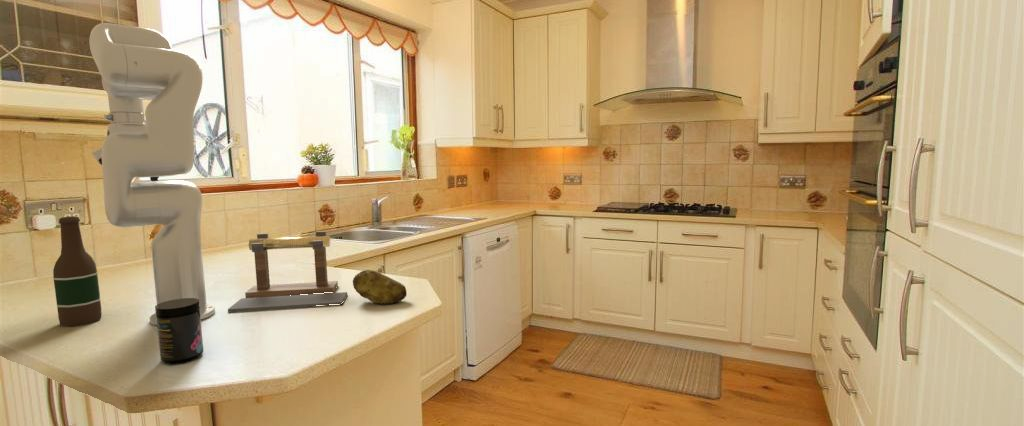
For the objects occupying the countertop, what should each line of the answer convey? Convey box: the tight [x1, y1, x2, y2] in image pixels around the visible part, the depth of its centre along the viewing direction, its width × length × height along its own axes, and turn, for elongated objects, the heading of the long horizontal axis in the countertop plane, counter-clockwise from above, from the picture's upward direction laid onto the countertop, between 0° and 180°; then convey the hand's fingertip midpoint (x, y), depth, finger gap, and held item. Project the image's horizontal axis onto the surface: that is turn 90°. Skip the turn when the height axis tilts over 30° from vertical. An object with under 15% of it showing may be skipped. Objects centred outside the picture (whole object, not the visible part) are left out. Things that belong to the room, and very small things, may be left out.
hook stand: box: [244, 230, 339, 298], centre depth 134 cm, size 7×22×16 cm, turn 100°
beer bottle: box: [52, 216, 103, 327], centre depth 112 cm, size 8×8×24 cm
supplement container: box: [154, 298, 204, 365], centre depth 91 cm, size 7×7×10 cm
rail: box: [248, 235, 331, 251], centre depth 134 cm, size 3×20×3 cm, turn 100°
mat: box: [227, 291, 348, 313], centre depth 125 cm, size 9×26×1 cm, turn 100°
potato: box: [352, 269, 407, 305], centre depth 124 cm, size 8×13×8 cm, turn 65°
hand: (134, 181), depth 139 cm, fingers open, 9 cm apart
